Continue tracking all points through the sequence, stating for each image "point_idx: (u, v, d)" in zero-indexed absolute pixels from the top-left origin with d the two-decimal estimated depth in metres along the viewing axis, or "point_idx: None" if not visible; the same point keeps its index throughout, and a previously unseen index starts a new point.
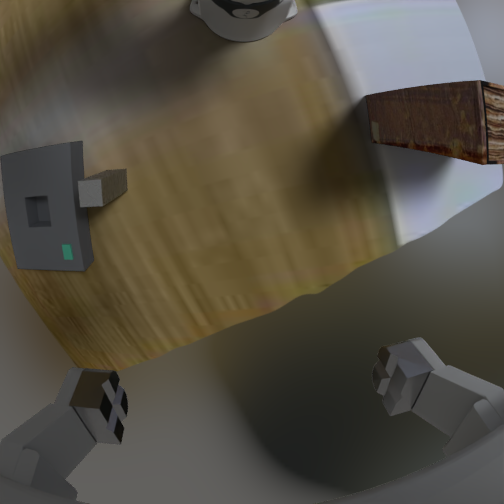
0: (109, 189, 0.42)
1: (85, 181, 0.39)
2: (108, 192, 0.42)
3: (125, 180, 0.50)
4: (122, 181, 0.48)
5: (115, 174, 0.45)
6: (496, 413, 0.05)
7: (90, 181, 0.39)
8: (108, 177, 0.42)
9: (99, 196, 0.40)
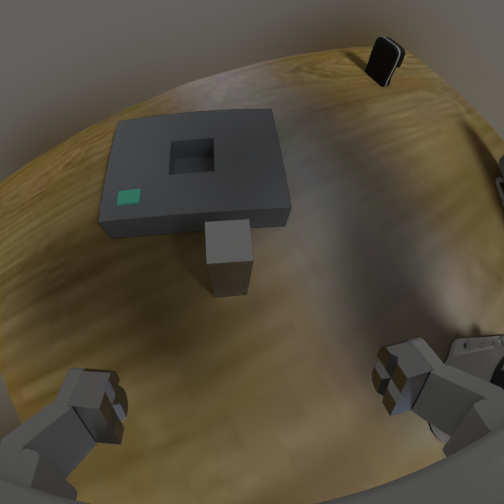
0: (229, 273, 0.29)
1: (248, 232, 0.27)
2: (225, 272, 0.28)
3: (230, 294, 0.36)
4: (231, 290, 0.35)
5: (247, 281, 0.32)
6: (496, 413, 0.05)
7: (249, 241, 0.27)
8: (249, 271, 0.29)
9: (224, 258, 0.26)
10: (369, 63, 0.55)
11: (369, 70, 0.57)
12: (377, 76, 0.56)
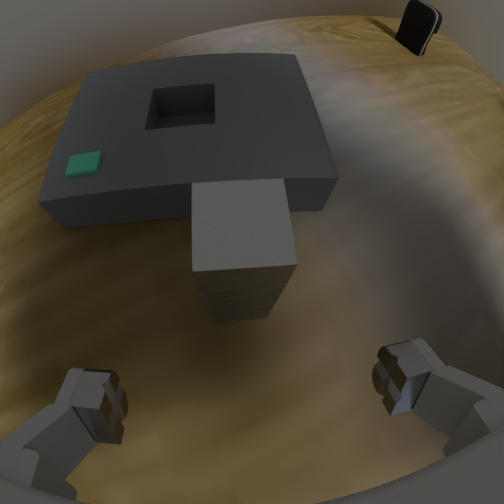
0: (241, 288, 0.14)
1: (284, 204, 0.13)
2: (232, 288, 0.14)
3: (239, 318, 0.22)
4: (241, 314, 0.20)
5: (272, 301, 0.17)
6: (496, 413, 0.05)
7: (286, 223, 0.12)
8: (280, 286, 0.14)
9: (232, 259, 0.12)
10: (400, 29, 0.41)
11: (400, 37, 0.42)
12: (410, 43, 0.41)
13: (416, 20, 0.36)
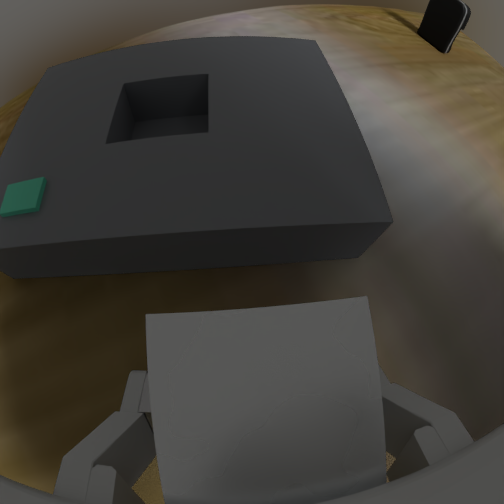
0: None
1: (370, 367, 0.05)
2: None
3: None
4: None
5: None
6: (441, 443, 0.05)
7: (373, 414, 0.05)
8: None
9: None
10: (423, 22, 0.33)
11: (423, 31, 0.35)
12: (435, 39, 0.34)
13: (442, 13, 0.29)
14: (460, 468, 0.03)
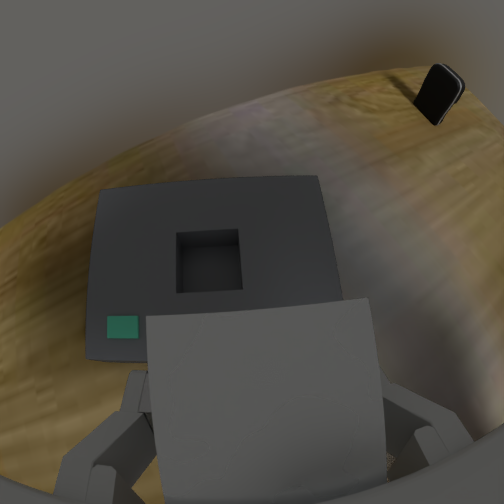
0: None
1: (371, 369, 0.05)
2: None
3: None
4: None
5: None
6: (441, 443, 0.05)
7: (373, 415, 0.04)
8: None
9: None
10: (420, 94, 0.44)
11: (419, 103, 0.45)
12: (429, 112, 0.44)
13: (438, 88, 0.40)
14: (460, 468, 0.03)
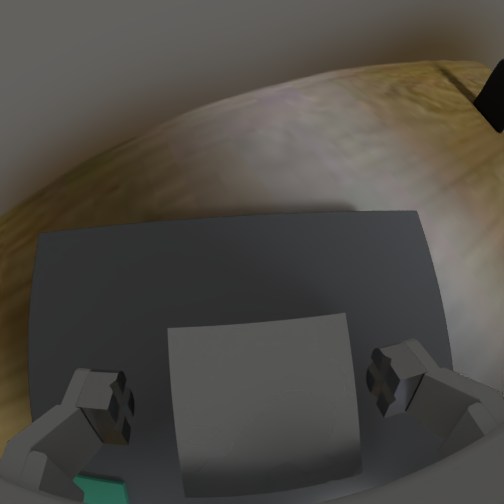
0: None
1: (347, 370, 0.06)
2: None
3: None
4: None
5: None
6: (491, 416, 0.05)
7: (349, 407, 0.06)
8: None
9: (253, 481, 0.05)
10: (483, 93, 0.30)
11: (481, 104, 0.31)
12: (494, 116, 0.30)
13: None
14: (460, 468, 0.03)
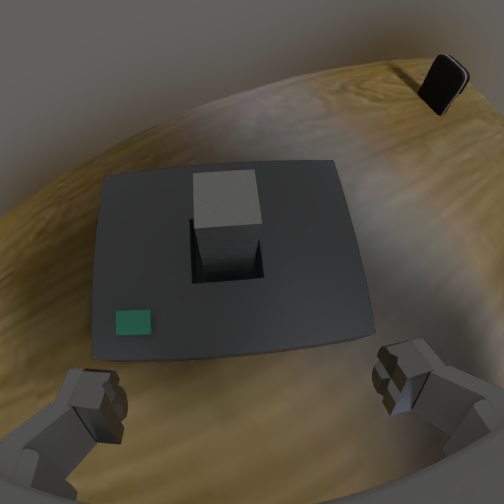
0: (227, 245, 0.21)
1: (254, 186, 0.19)
2: (221, 244, 0.20)
3: (228, 280, 0.28)
4: (229, 274, 0.27)
5: (251, 260, 0.24)
6: (496, 413, 0.05)
7: (255, 198, 0.19)
8: (254, 243, 0.21)
9: (220, 220, 0.18)
10: (424, 84, 0.43)
11: (424, 93, 0.44)
12: (434, 102, 0.43)
13: (443, 79, 0.38)
14: (460, 468, 0.03)
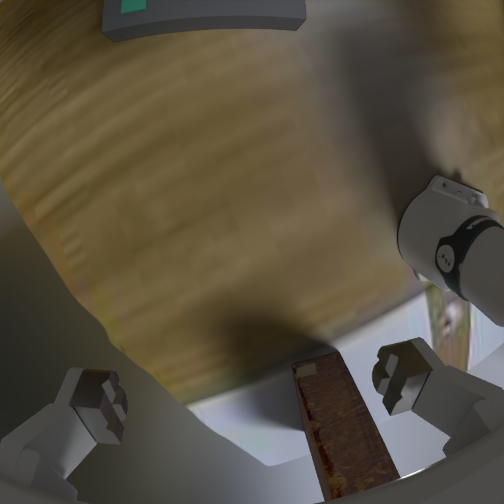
0: None
1: None
2: None
3: None
4: None
5: None
6: (496, 413, 0.05)
7: None
8: None
9: None
10: None
11: None
12: None
13: None
14: (460, 468, 0.03)
